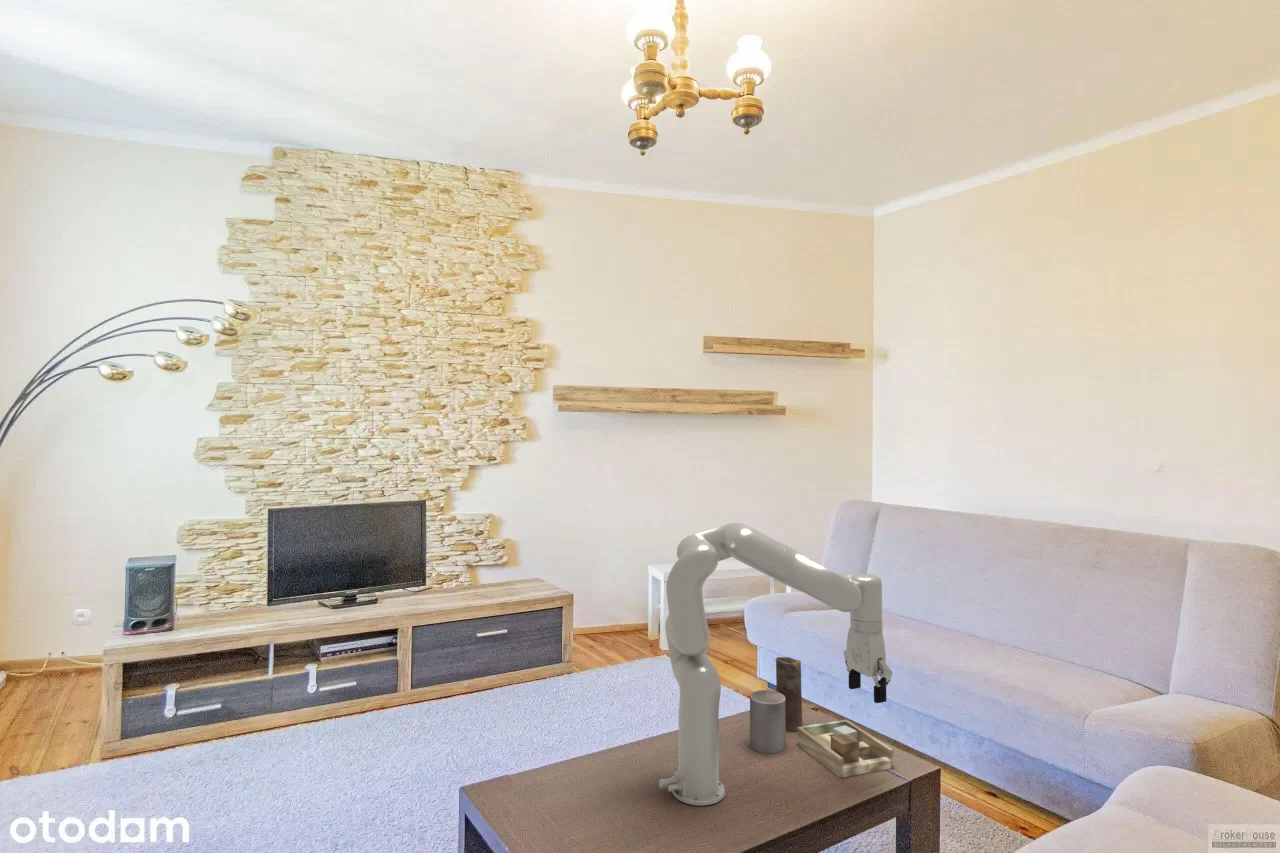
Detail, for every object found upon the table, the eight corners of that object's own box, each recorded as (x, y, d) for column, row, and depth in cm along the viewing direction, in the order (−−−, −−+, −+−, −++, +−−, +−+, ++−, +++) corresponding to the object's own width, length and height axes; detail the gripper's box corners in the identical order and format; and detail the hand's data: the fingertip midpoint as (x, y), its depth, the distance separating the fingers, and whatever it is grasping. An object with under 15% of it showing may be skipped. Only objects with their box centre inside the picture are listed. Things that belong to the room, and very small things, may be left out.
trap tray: (840, 779, 176) (840, 758, 176) (797, 745, 195) (797, 727, 195) (893, 769, 181) (893, 749, 181) (846, 737, 200) (846, 719, 200)
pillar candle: (753, 736, 200) (753, 683, 200) (788, 741, 197) (788, 687, 197) (746, 751, 191) (746, 696, 191) (783, 757, 188) (783, 700, 188)
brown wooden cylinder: (772, 723, 210) (772, 655, 210) (795, 721, 211) (795, 654, 211) (782, 734, 202) (782, 663, 202) (806, 732, 203) (806, 662, 204)
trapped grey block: (845, 751, 190) (845, 734, 191) (833, 744, 194) (833, 728, 194) (857, 747, 193) (857, 731, 193) (845, 741, 197) (845, 725, 197)
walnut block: (842, 764, 178) (842, 744, 178) (830, 755, 183) (830, 736, 183) (859, 761, 180) (859, 741, 180) (847, 752, 185) (847, 733, 185)
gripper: (832, 618, 181) (833, 685, 181) (876, 636, 165) (877, 710, 165) (856, 615, 184) (857, 681, 184) (902, 633, 168) (903, 705, 168)
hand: (867, 695), depth 174 cm, fingers open, 9 cm apart
